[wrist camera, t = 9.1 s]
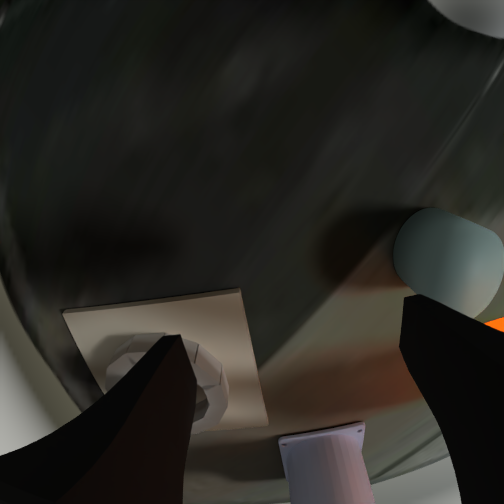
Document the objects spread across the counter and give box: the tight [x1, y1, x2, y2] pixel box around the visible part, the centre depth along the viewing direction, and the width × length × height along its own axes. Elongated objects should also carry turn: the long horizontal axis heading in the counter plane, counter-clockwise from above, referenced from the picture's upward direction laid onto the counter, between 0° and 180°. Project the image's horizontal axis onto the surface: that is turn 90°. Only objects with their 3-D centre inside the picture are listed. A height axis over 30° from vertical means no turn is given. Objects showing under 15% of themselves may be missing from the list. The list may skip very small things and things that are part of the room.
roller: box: [393, 208, 504, 318], centre depth 16 cm, size 6×6×5 cm
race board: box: [62, 288, 269, 434], centre depth 21 cm, size 13×13×3 cm
